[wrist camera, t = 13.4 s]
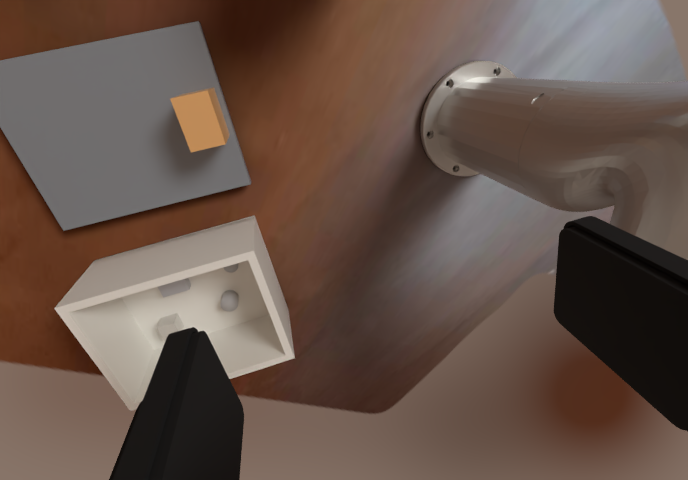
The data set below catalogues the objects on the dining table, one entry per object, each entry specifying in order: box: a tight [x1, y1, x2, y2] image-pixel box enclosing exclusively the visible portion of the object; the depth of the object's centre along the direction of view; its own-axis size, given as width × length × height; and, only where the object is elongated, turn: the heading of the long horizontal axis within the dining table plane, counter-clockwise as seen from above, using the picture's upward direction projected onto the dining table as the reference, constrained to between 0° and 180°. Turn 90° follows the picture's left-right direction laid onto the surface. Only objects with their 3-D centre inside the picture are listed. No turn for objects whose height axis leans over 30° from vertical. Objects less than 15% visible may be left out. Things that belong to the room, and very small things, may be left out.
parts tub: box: [54, 216, 295, 411], centre depth 40 cm, size 18×14×9 cm
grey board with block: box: [0, 21, 251, 231], centre depth 33 cm, size 19×15×7 cm
